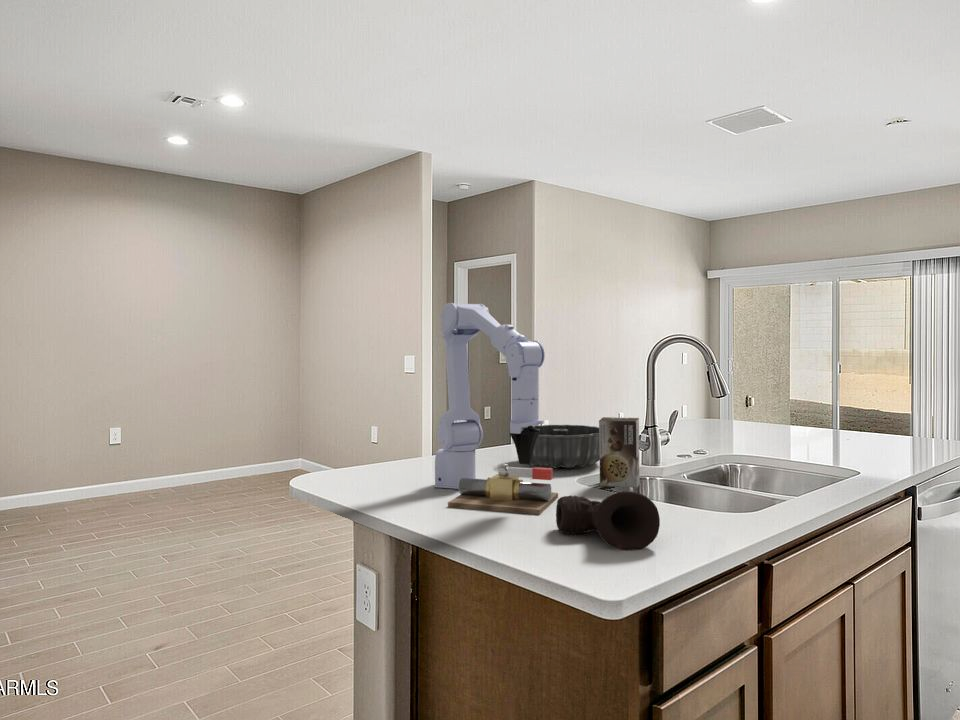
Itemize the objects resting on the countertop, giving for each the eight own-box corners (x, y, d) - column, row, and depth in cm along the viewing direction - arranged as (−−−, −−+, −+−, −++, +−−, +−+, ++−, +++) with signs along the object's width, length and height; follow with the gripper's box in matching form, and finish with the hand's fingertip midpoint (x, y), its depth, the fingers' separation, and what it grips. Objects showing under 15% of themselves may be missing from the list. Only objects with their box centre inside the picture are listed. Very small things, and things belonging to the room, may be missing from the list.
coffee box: (640, 483, 166) (640, 417, 166) (637, 488, 160) (637, 420, 160) (602, 480, 169) (602, 416, 169) (598, 486, 163) (598, 419, 163)
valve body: (457, 498, 149) (457, 476, 149) (465, 493, 153) (465, 471, 153) (546, 505, 142) (546, 482, 142) (552, 500, 147) (552, 477, 146)
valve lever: (496, 477, 147) (496, 465, 147) (500, 474, 149) (500, 463, 149) (550, 480, 143) (550, 468, 143) (553, 478, 145) (553, 466, 145)
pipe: (554, 486, 128) (574, 489, 114) (631, 489, 130) (660, 492, 115) (553, 539, 127) (573, 549, 112) (631, 541, 128) (660, 551, 114)
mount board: (448, 506, 144) (448, 502, 143) (474, 491, 159) (474, 486, 159) (539, 514, 137) (539, 509, 137) (558, 497, 152) (558, 492, 152)
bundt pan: (507, 457, 205) (507, 424, 205) (592, 454, 208) (592, 422, 208) (523, 474, 179) (523, 436, 178) (620, 471, 182) (620, 434, 181)
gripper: (534, 402, 133) (534, 471, 134) (552, 396, 147) (552, 458, 147) (500, 401, 136) (500, 468, 136) (520, 395, 149) (521, 457, 150)
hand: (525, 463), depth 142 cm, fingers closed
